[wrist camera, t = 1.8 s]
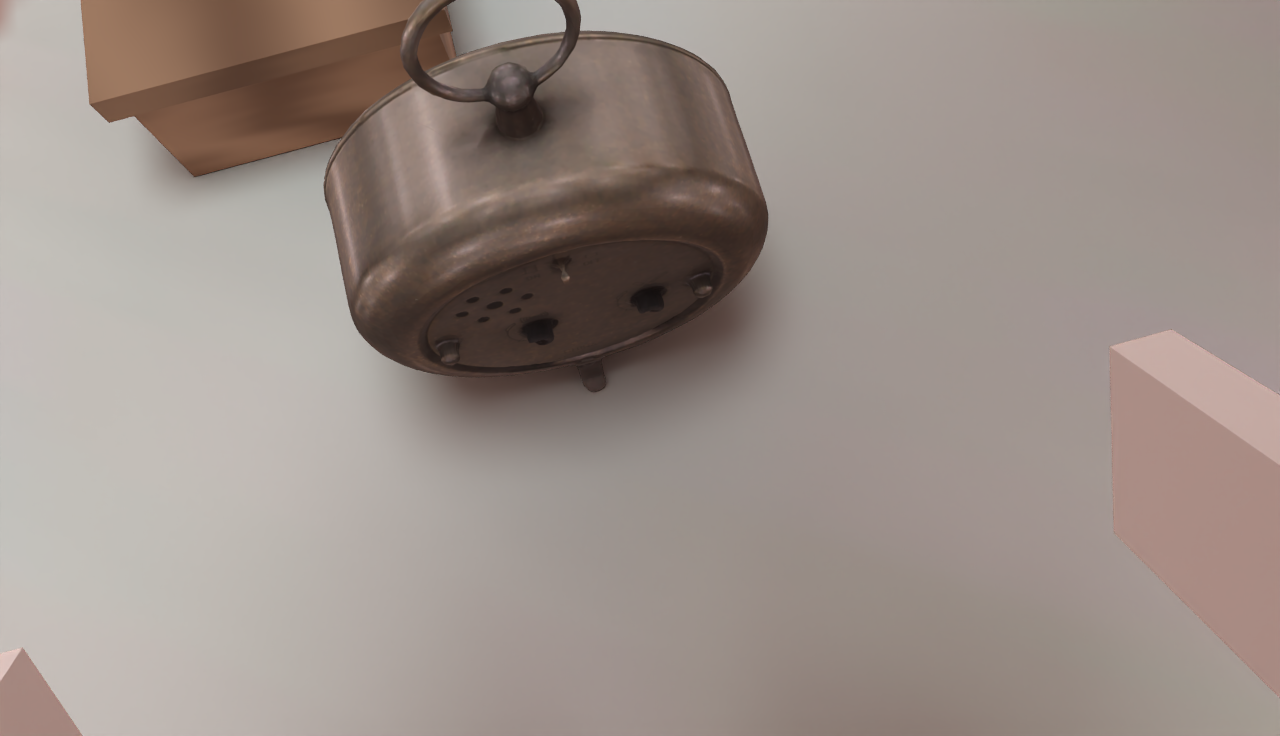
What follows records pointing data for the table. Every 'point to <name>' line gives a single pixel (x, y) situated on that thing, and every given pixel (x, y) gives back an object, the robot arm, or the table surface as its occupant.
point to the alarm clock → (542, 202)
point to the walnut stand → (248, 70)
